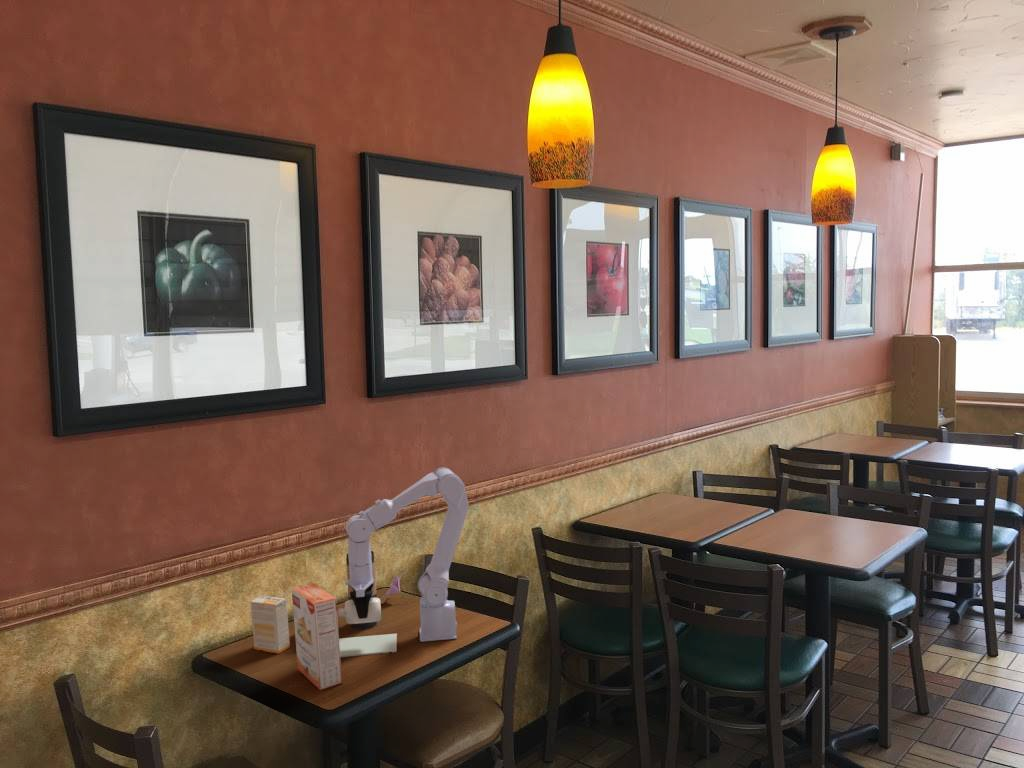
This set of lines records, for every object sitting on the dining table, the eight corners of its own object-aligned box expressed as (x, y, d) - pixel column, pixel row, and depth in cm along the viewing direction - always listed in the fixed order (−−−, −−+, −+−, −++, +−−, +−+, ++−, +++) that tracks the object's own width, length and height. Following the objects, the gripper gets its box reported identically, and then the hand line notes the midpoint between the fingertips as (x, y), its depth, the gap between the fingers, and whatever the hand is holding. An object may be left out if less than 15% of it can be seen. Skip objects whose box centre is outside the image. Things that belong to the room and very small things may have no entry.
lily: (406, 595, 252) (389, 569, 251) (428, 588, 244) (411, 561, 243) (380, 619, 243) (362, 592, 243) (402, 613, 235) (384, 585, 235)
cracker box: (296, 671, 200) (290, 587, 198) (319, 663, 204) (314, 581, 202) (318, 692, 189) (312, 603, 187) (343, 684, 192) (337, 597, 190)
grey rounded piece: (381, 615, 215) (380, 596, 214) (381, 621, 211) (380, 602, 210) (340, 619, 214) (338, 600, 213) (338, 625, 210) (337, 606, 209)
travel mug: (384, 621, 229) (379, 551, 227) (365, 631, 223) (360, 559, 220) (363, 617, 233) (359, 547, 231) (344, 626, 227) (339, 555, 225)
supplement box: (291, 647, 215) (287, 598, 213) (278, 654, 210) (274, 604, 209) (266, 642, 218) (262, 594, 217) (253, 649, 214) (249, 600, 212)
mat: (396, 634, 220) (396, 633, 219) (396, 652, 209) (396, 650, 209) (335, 640, 218) (335, 638, 217) (331, 658, 207) (331, 656, 207)
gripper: (346, 555, 218) (349, 605, 219) (342, 573, 203) (345, 626, 205) (373, 553, 218) (376, 603, 220) (371, 571, 204) (374, 624, 205)
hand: (363, 614), depth 212 cm, fingers closed on grey rounded piece, 4 cm apart
